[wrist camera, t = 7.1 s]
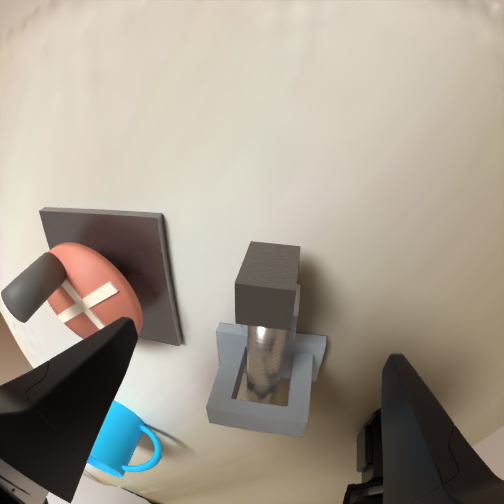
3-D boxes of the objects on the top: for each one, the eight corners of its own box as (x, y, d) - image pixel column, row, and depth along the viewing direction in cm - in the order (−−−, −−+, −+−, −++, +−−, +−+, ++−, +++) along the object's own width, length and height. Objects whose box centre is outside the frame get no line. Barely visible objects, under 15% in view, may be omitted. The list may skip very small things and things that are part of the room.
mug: (103, 417, 35) (81, 460, 28) (81, 387, 31) (53, 434, 24) (177, 443, 34) (158, 493, 27) (164, 416, 29) (139, 475, 22)
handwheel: (173, 316, 18) (134, 389, 13) (106, 341, 21) (71, 396, 16) (90, 210, 15) (20, 264, 10) (40, 262, 18) (-10, 309, 14)
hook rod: (300, 246, 13) (296, 290, 11) (278, 404, 20) (272, 441, 17) (251, 241, 14) (234, 283, 11) (248, 400, 20) (239, 436, 17)
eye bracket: (337, 287, 17) (342, 370, 12) (316, 372, 21) (311, 443, 16) (216, 274, 18) (180, 348, 13) (222, 360, 22) (200, 426, 17)
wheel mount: (162, 213, 16) (152, 222, 15) (182, 340, 21) (176, 351, 20) (44, 207, 18) (33, 214, 17) (79, 314, 23) (71, 323, 22)
